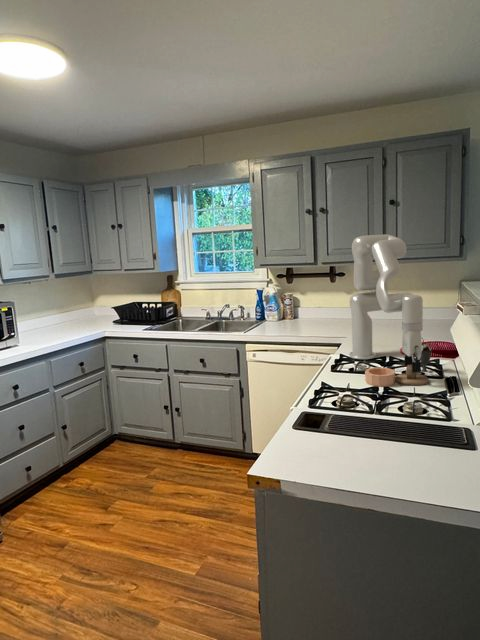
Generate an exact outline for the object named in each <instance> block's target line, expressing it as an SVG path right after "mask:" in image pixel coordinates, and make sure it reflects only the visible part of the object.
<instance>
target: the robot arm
mask: <svg viewBox="0 0 480 640" xmlns="http://www.w3.org/2000/svg"><path fill="white" fill-rule="evenodd" d="M407 249H408V248H407V245H406V243H405V241H404V240H402V238H399V237H397V236H394V235H391V234H386V233H385V234H384V233H383V234H371V235H370V234H369V235H360V236H357V237H355V238H354V239H353V241H352V244H351V253H352V257H353V287H354V289H356V290H357V291H366V292H357V293H354V294H353V295H351V296H350V298H349V307H350V313H351V326H352V327H351V329H352V330H351V331H352V332H351V334H352V335H351V336H352V337H351V338H352V339H351V342H352V346H351V347H352V351H351V352H349V357H350V358H352V359H355V360H370V359H371V360H372V359H374V358H376V356H377V354H376V353H375V352H374V351H373V319H372V318H371V317H370V314H368V313H371V312H378V311H383V312H385V313H388V314H390V313H399V312H400V313H401V314H402V315H401V325H402V326H401V330H402V338H401V339H402V342H401V343H402V344H401V351H402V352H403V355H404V356H403V358H404V359H403V360H404V362H403V364H404V366H406V367H407V365H412V372H416V373H422V372H421V370H422V364H421V352H422V345H421V344H422V338H421V337H422V333H421V332H423V329H424V328H423V327H424V326H423V325H424V324H423V321H424V320H423V317H424V316H423V315H424V314H423V307H424V306H423V302H424V300H423V297H422V296H421V295H419V294H414V293H411V292H398V293H396V292H395V293H388V285H389V283H388V282H389V281H390V280H393V279H394V278H396V277H397V276H398V275H400V273H401V266H400V263H399V261H398V259H402V258H404V257H405V256H406V254H407ZM371 255H372V256H373V259H372V257H371ZM373 261H374V262H375V264H376V268H377V269H373V265H374V262H373ZM372 290H373V291H372Z"/></svg>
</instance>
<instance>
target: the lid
mask: <svg viewBox="0 0 480 640" xmlns="http://www.w3.org/2000/svg"><path fill="white" fill-rule="evenodd" d="M428 382H429V378H428V377H427V376H426V375H424V374H419V373H417V372H412V365H407V366H406V373H404V372H403V373H400V374H397V375H395V383H397V384H398V383H399V384H403V385H408V386H407V387H421V385H425V384H427V383H428ZM399 384H398V385H399ZM425 386H426V385H425Z"/></svg>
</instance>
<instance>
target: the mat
mask: <svg viewBox="0 0 480 640" xmlns="http://www.w3.org/2000/svg"><path fill="white" fill-rule="evenodd" d="M397 384H398V385H399V386H400V387H409V386H408V385H403V384H399V383H397ZM421 386H433V384H432V383H430V382H429V381H428V383H427V384H425V385H421ZM421 386H420V387H421Z"/></svg>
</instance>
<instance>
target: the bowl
mask: <svg viewBox="0 0 480 640" xmlns="http://www.w3.org/2000/svg"><path fill="white" fill-rule="evenodd" d="M364 377H365V379H364V381H365V383H366V384H367V385H369V386H371V387H380V388H382V387H383V388H384V387H390V386H393V385H394V384H395V383H396V381H395V377H396V371H395V370H394V369H392V368H389V367H380V366H379V367H377V366H376V367H370V368H367V369H366V370H365V371H364Z"/></svg>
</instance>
